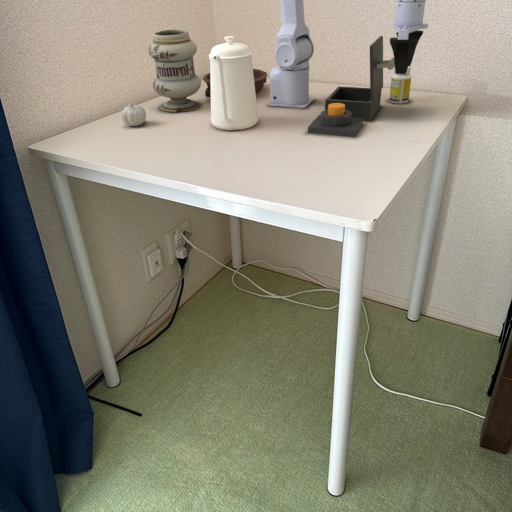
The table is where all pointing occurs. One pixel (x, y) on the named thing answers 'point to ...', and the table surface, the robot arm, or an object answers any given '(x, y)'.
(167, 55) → the apothecary jar
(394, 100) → the supplement bottle
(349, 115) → the orange push button box
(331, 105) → the button
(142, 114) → the garlic
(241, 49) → the coffeepot
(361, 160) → the table surface
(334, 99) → the dark grey lipped box
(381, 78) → the lid
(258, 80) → the dish
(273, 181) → the table surface
